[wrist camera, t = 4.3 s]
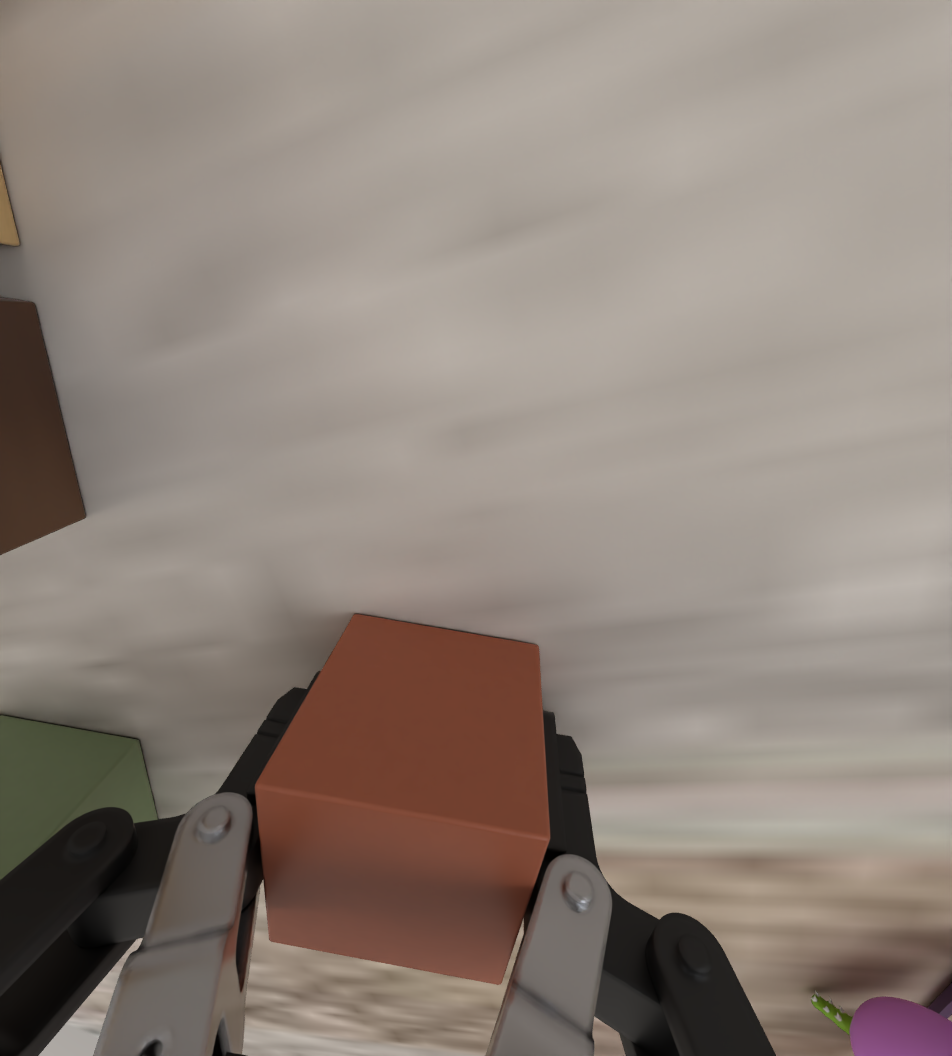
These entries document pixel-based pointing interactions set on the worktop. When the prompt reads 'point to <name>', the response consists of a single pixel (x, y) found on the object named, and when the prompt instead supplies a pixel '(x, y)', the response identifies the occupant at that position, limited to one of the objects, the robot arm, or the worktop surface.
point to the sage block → (63, 782)
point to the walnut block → (31, 436)
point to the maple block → (6, 217)
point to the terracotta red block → (409, 801)
